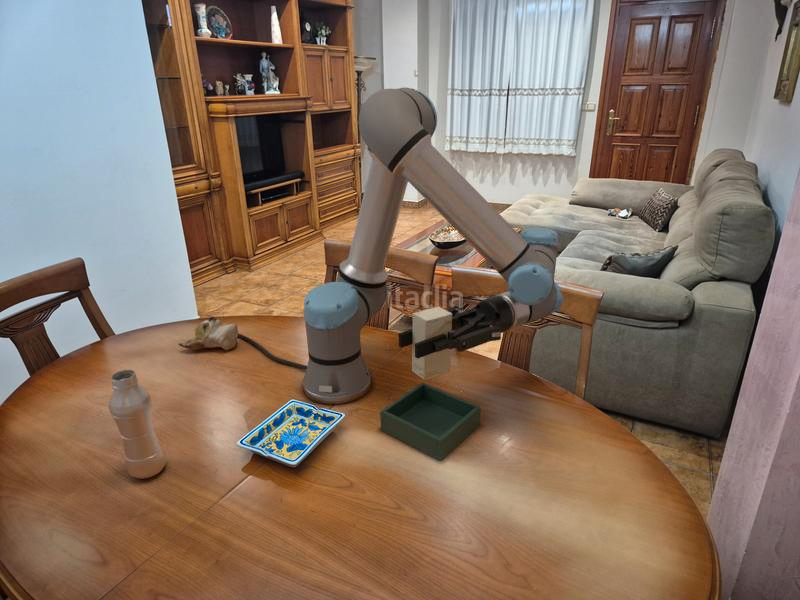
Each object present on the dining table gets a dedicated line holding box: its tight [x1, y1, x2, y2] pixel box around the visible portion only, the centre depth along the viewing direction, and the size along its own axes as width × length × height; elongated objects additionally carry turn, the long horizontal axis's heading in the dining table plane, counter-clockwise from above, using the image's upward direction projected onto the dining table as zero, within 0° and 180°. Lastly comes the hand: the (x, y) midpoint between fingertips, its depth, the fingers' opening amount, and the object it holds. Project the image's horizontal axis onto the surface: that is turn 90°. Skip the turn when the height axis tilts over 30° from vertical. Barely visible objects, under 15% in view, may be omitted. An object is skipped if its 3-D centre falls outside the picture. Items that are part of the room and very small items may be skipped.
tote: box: [379, 382, 482, 462], centre depth 102 cm, size 15×14×4 cm
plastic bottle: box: [108, 369, 167, 480], centre depth 88 cm, size 6×7×20 cm
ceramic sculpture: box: [178, 317, 239, 351], centre depth 135 cm, size 11×9×15 cm
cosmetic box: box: [411, 305, 453, 381], centre depth 95 cm, size 6×4×12 cm
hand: (408, 345), depth 92 cm, fingers closed on cosmetic box, 4 cm apart
